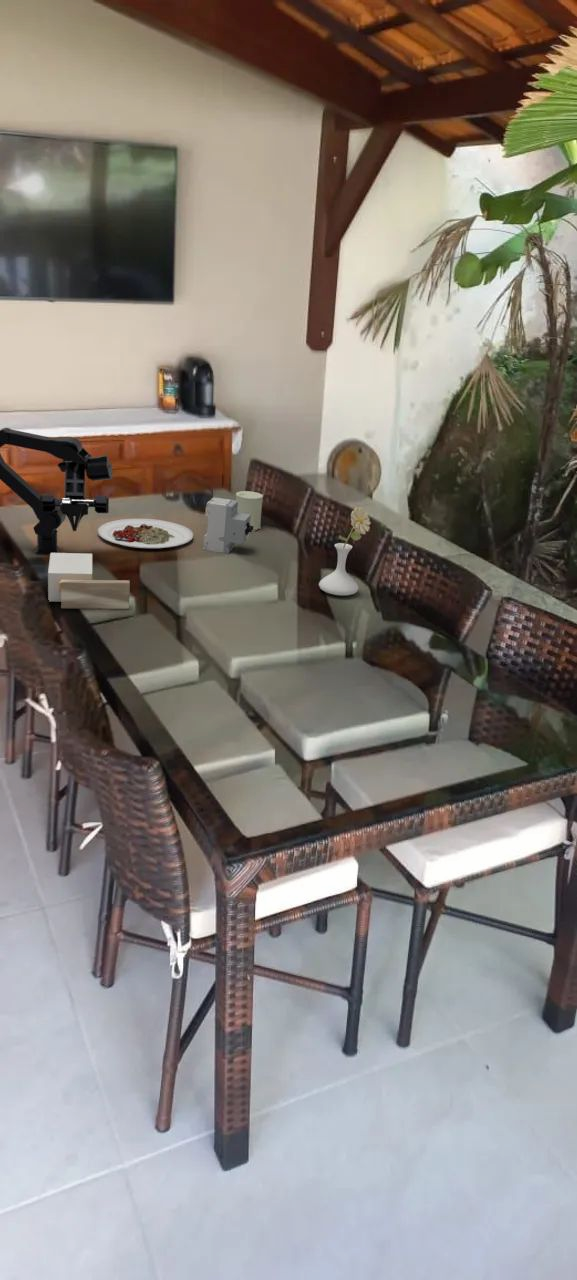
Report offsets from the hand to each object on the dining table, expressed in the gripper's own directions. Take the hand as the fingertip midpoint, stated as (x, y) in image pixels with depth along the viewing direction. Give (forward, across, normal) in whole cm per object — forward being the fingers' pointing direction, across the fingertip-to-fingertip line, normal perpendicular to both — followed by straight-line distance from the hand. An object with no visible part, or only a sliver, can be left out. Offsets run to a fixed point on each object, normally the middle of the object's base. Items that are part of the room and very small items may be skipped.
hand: (74, 530), depth 257 cm
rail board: (+28, -6, +13) cm, 31 cm away
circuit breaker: (-6, -46, -23) cm, 52 cm away
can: (-24, -56, -41) cm, 73 cm away
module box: (+20, +1, +4) cm, 21 cm away
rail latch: (+24, -1, +13) cm, 28 cm away
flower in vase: (+18, -74, +1) cm, 77 cm away
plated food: (-14, -21, -31) cm, 40 cm away
